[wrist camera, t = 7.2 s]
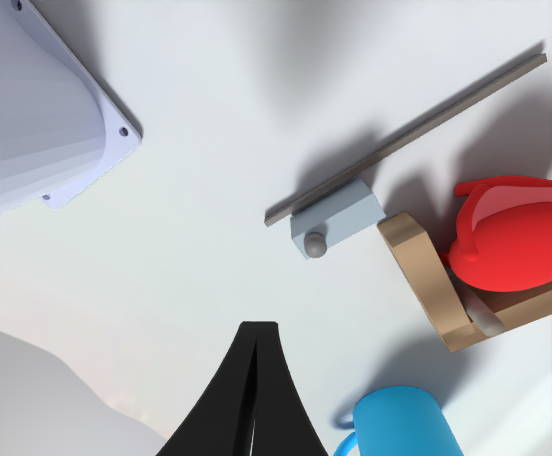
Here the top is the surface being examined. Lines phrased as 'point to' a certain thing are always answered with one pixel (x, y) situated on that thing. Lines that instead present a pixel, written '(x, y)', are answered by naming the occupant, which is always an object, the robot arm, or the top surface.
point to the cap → (503, 234)
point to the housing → (425, 262)
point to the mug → (400, 425)
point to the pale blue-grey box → (335, 218)
